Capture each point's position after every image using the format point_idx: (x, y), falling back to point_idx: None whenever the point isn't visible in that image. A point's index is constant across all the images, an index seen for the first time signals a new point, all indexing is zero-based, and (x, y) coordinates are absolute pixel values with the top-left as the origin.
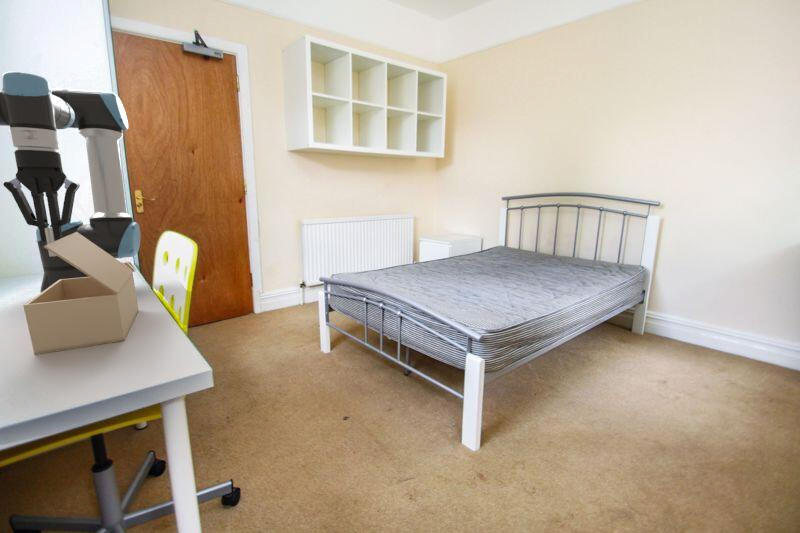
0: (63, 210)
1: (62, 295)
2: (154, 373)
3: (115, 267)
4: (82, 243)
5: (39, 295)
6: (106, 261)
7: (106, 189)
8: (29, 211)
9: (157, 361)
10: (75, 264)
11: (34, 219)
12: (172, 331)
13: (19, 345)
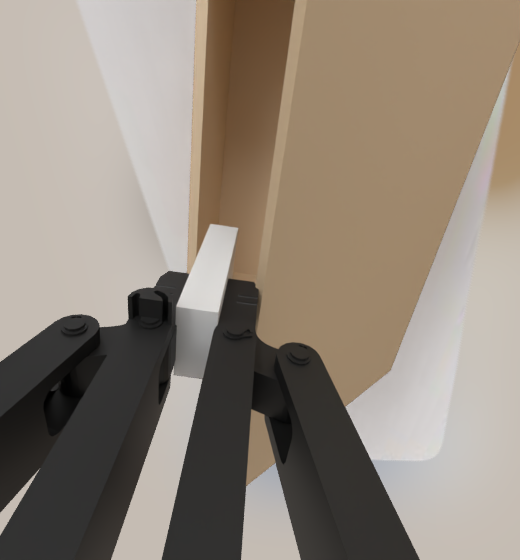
0: (294, 505)
1: (219, 16)
2: (380, 437)
3: (445, 160)
4: (348, 141)
5: (194, 250)
6: (423, 166)
7: None
8: (35, 451)
9: (393, 407)
10: None
11: (81, 365)
12: (460, 292)
13: (163, 190)
